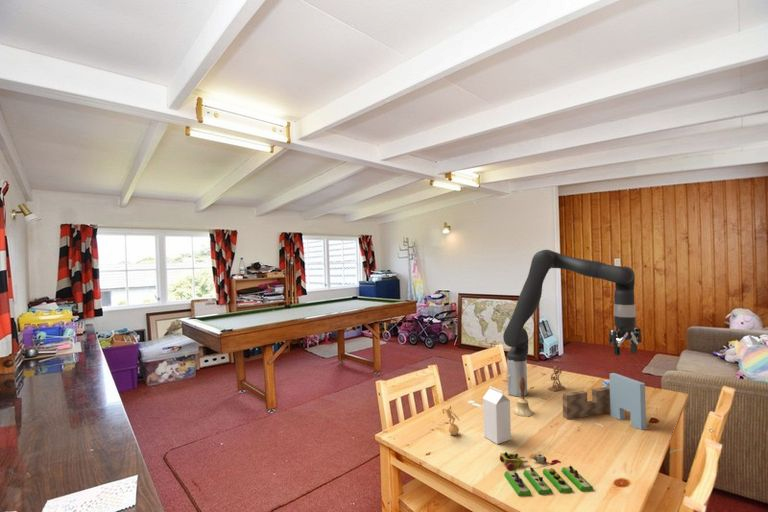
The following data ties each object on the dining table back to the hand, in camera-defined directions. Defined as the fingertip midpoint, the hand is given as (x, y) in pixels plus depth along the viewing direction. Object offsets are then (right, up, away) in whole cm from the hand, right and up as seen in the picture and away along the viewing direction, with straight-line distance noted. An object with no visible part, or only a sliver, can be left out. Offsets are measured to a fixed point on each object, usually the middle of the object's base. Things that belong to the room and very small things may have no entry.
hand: (625, 354), depth 152 cm
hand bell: (-38, -29, +12) cm, 49 cm away
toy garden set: (-50, -30, -34) cm, 67 cm away
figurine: (-73, -30, -7) cm, 79 cm away
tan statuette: (-10, -28, +39) cm, 49 cm away
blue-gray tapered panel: (+1, -28, 0) cm, 28 cm away
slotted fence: (-10, -28, +8) cm, 31 cm away
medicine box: (+9, -28, +23) cm, 37 cm away
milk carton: (-56, -30, -11) cm, 64 cm away
